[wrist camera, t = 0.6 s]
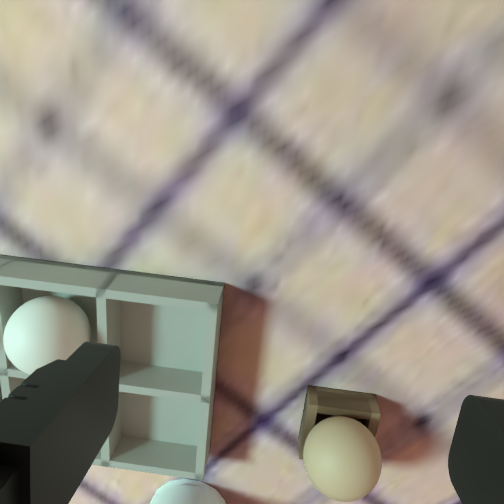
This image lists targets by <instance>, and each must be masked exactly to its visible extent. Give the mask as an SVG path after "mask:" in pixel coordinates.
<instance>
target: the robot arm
mask: <svg viewBox="0 0 504 504" xmlns="http://www.w3.org/2000/svg"><path fill="white" fill-rule="evenodd" d="M119 378H120V348H119V346H117V345H110V344H102V343H95V342H88V341H86V342H84V343H83V344H82V345H81V346H80V347H79V348H78V349H77V350H76V351H75V352H74V353H73V354H72V355H71V356H70V357H69V358H68V359H67V360H60V359H57V360H55V361H53V362H51V363H49V364H47V365H45V366H42V367H40V368H38V369H36V370H35V371H34V372H33V373H32V374H31V375H30V376H28V377H27V378H26V379H25V380H24V381H23V382H22V383H21V386H17V387H16V388H15V389H14V390H13V391H12V392H11V393H10V394H9V395H8V398H6V397H5V398H4V399H3V400H2V401H1V402H0V504H68V503H69V502H70V500H71V498H72V497H73V495H74V493H75V492H76V490H77V488H78V487H79V485H80V483H81V482H82V480H83V478H84V477H85V475H86V473H87V472H88V470H89V468H90V467H91V465H92V463H93V462H94V460H95V458H96V456H97V455H98V453H99V451H100V450H101V448H102V446H103V445H104V443H105V441H106V440H107V438H108V436H109V435H110V433H111V431H112V428H113V426H114V423H115V419H116V415H117V410H118V398H119ZM448 468H449V475H450V479H451V482H452V484H453V486H454V488H455V490H456V492H457V494H458V496H459V498H460V500H461V502H462V504H504V400H503V399H496V398H489V397H481V396H474V395H469V396H467V397H466V398H465V399H464V401H463V403H462V406H461V410H460V414H459V418H458V421H457V425H456V429H455V433H454V436H453V440H452V444H451V448H450V452H449V458H448Z"/></svg>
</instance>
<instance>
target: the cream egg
mask: <svg viewBox="0 0 504 504" xmlns="http://www.w3.org/2000/svg"><path fill="white" fill-rule="evenodd" d="M90 339H91V326H90V322H89V320H88V317H87V315H86V314H85V312H84V311H83V310H82V308H81V307H80V306H78V305H77V304H76V303H74V302H73V301H71V300H69V299H66V298H63V297H59V296H43V297H38V298H35V299H32V300H30V301H28V302H26V303H24V304H23V305H22V306H20V307H19V308H18V309H17V310H16V311H15V312H14V313H13V314H12V316H11V317H10V318H9V320H8V322H7V324H6V327H5V330H4V335H3V344H4V349H5V352H6V355H7V357H8V358H9V360H10V361H11V362H12V364H13V365H14V366H15V367H17V368H18V369H19V370H21V371H23V372H25V373H27V374H30V375H31V374H32V373H33V372H34V371H35V370H36V369H38V368H40V367H42V366H45V365H47V364H49V363H51V362H53V361H55V360H57V359H60V360H67V359H68V358H69V357H70V356H71V355H72V354H73V353H74V352H75V351H76V350H77V349H78V348H79V347H80V346H81V345H82V344H83V343H84V342H86V341H88V342H90Z"/></svg>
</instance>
